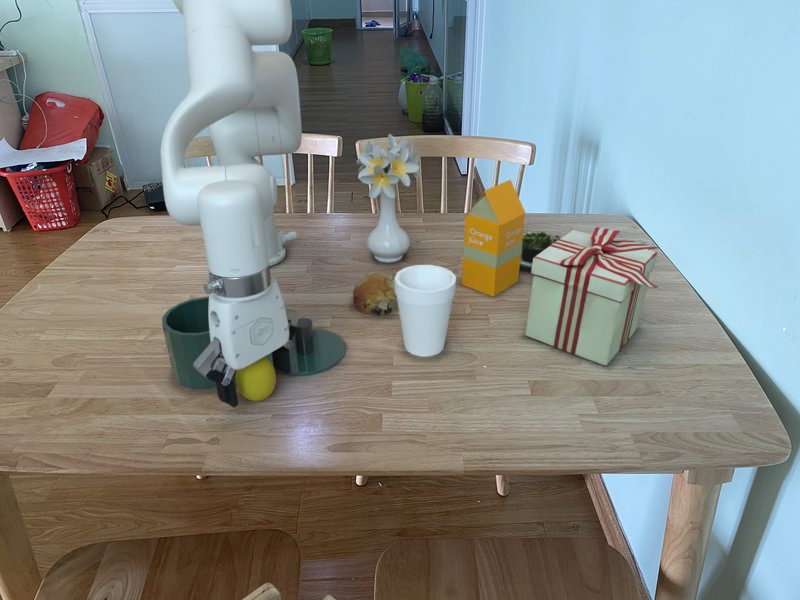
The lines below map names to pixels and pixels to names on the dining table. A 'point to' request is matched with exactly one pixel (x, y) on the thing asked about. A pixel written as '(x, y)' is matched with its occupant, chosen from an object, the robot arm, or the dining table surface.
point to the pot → (189, 341)
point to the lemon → (256, 380)
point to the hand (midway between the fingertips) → (257, 385)
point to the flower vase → (387, 195)
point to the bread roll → (376, 294)
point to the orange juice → (493, 240)
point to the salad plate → (534, 247)
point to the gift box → (589, 293)
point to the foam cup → (424, 307)
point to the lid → (313, 350)
